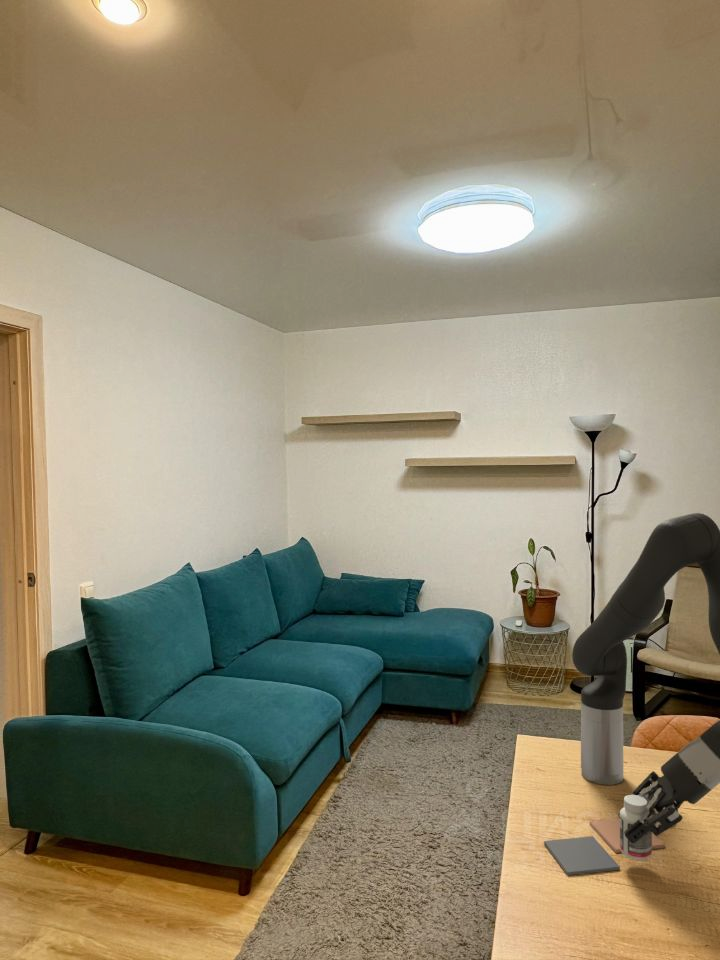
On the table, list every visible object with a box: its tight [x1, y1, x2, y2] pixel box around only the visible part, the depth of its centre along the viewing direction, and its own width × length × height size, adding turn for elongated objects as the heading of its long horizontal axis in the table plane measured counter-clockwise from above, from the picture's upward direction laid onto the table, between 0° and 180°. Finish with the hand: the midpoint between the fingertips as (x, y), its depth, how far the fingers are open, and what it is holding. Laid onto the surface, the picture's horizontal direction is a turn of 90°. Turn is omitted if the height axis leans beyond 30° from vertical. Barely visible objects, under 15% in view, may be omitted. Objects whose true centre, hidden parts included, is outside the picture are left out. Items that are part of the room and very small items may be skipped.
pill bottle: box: [619, 794, 653, 862], centre depth 121 cm, size 5×5×10 cm
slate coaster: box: [543, 835, 621, 876], centre depth 125 cm, size 10×10×1 cm
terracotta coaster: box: [589, 818, 666, 854], centre depth 131 cm, size 10×10×1 cm
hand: (625, 828), depth 121 cm, fingers closed on pill bottle, 5 cm apart
